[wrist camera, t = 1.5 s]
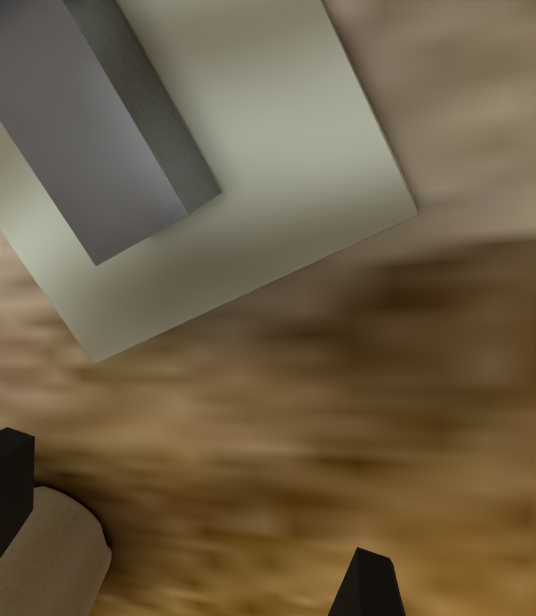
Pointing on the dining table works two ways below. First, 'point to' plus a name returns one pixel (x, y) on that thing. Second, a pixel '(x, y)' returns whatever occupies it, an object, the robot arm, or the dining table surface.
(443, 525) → the dining table surface
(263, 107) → the base
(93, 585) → the flower pot
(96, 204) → the charcoal brick
